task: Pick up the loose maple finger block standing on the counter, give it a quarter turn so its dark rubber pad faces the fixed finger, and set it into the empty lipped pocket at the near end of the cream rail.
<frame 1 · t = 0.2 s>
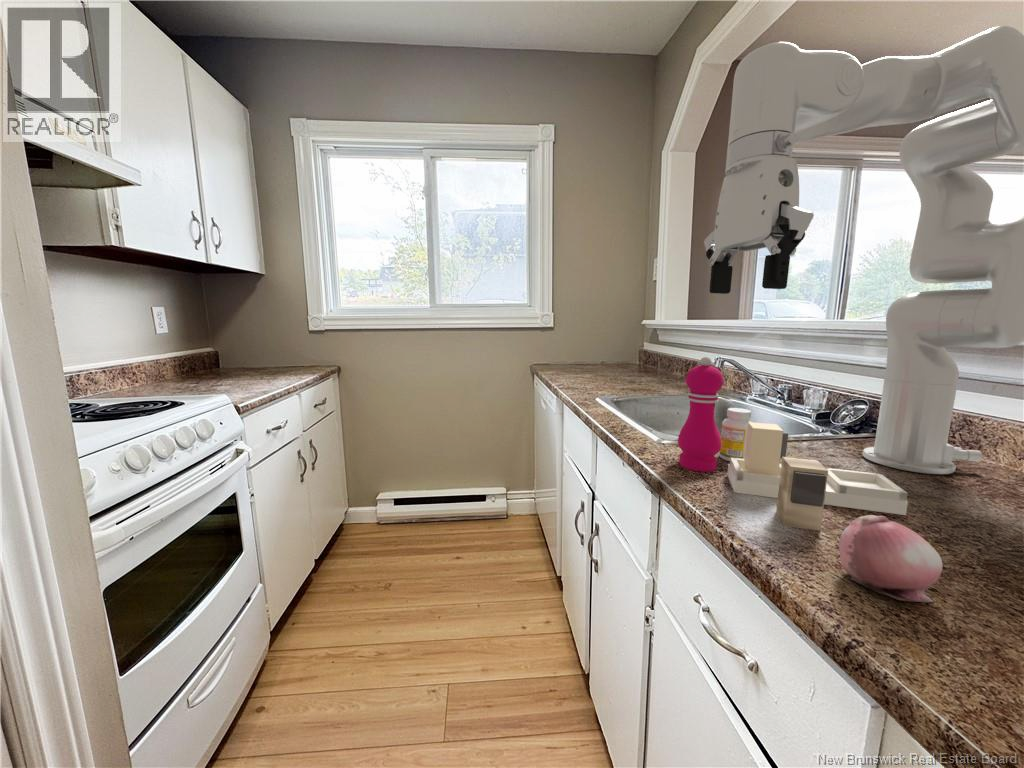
hand: (744, 291, 57), 30 cm above the countertop, tool pointing down, fingers open, 9 cm apart
pepper mill: (697, 466, 75), on the countertop
pink shallot: (881, 588, 41), on the countertop
supplement bottle: (734, 459, 79), on the countertop
rail: (806, 493, 64), on the countertop
finger block: (797, 520, 55), on the countertop
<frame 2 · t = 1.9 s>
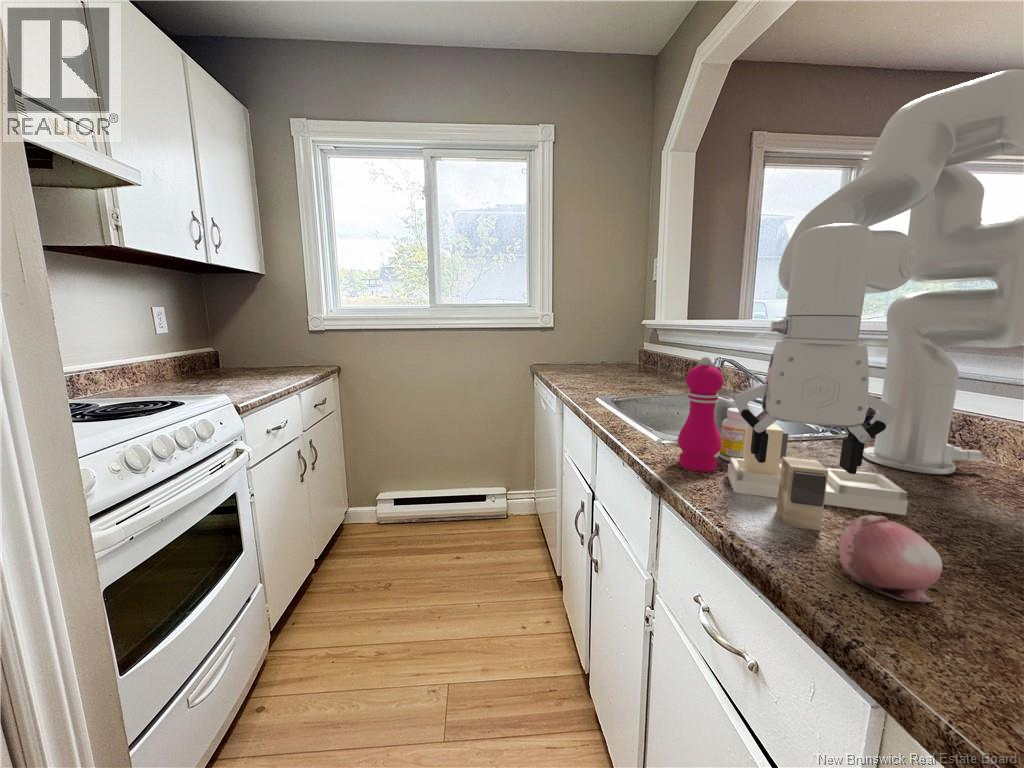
hand: (802, 465, 53), 8 cm above the countertop, tool pointing down, fingers open, 9 cm apart
nothing on the countertop moved.
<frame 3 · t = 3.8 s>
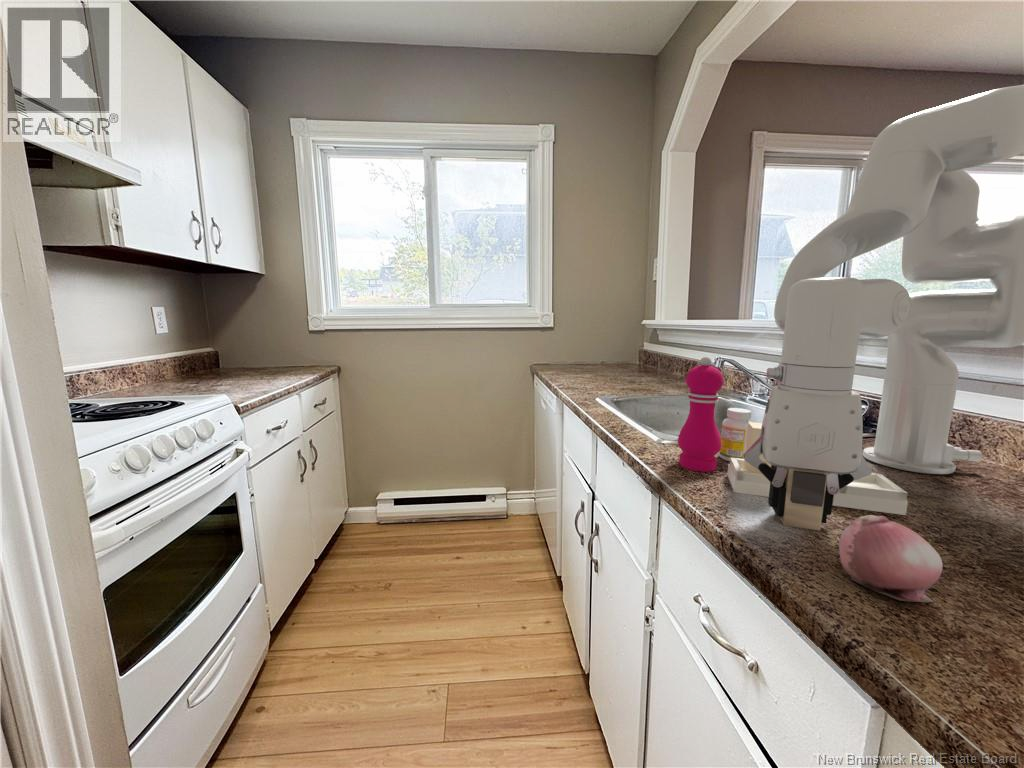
hand: (797, 514, 55), 1 cm above the countertop, tool pointing down, fingers closed on finger block, 4 cm apart
finger block: (797, 520, 55), on the countertop, touching gripper
everything else where it was.
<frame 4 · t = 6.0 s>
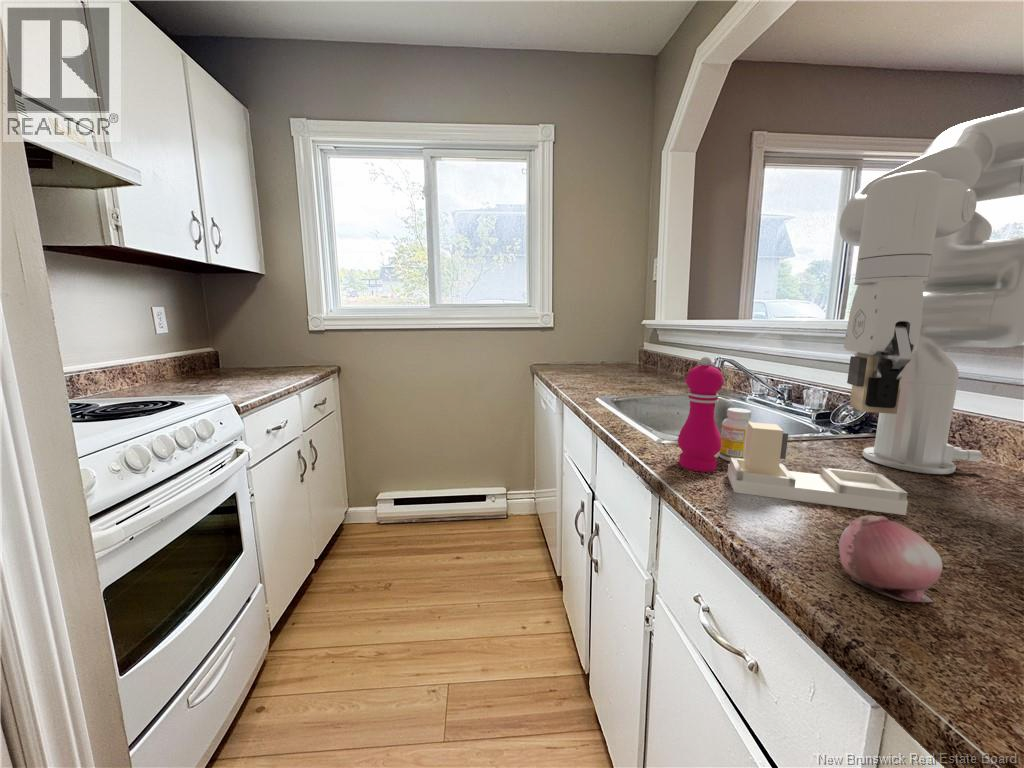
hand: (872, 402, 59), 15 cm above the countertop, tool pointing down, fingers closed on finger block, 4 cm apart
finger block: (872, 409, 59), point 14 cm above the countertop, touching gripper
everything else where it was.
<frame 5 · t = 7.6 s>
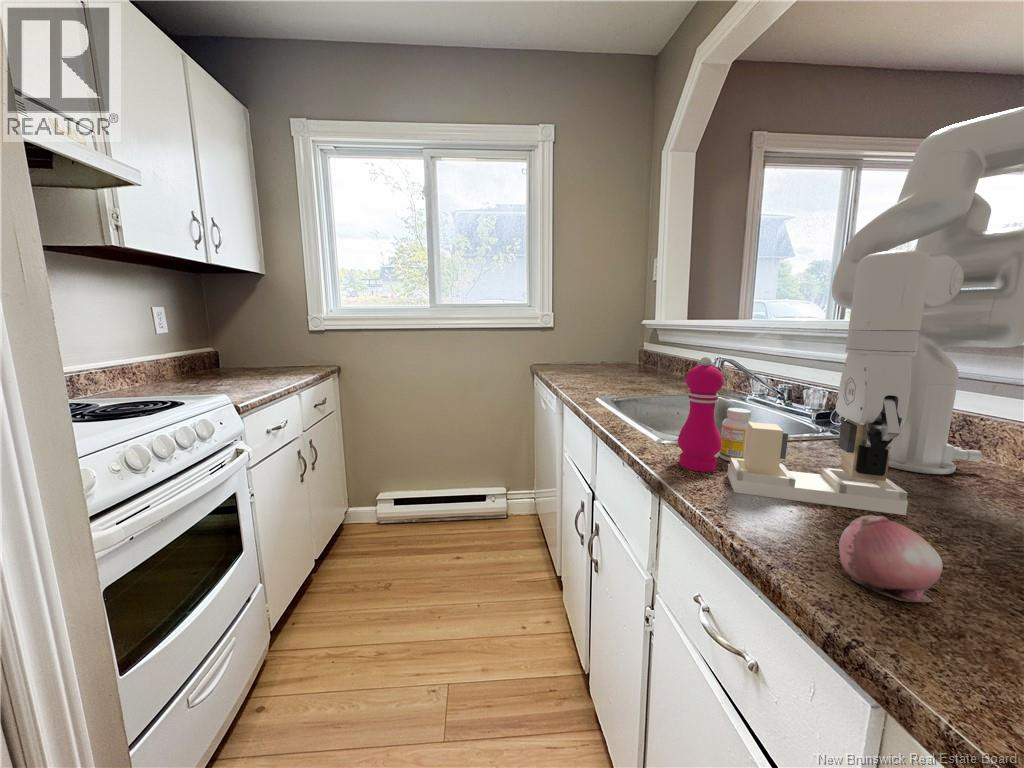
hand: (862, 467, 60), 5 cm above the countertop, tool pointing down, fingers closed on finger block, 4 cm apart
finger block: (862, 474, 61), point 4 cm above the countertop, touching gripper
everything else where it was.
when the fingers open (4 cm above the countertop, at t = 8.6 s): finger block stays where it is, resting on rail.
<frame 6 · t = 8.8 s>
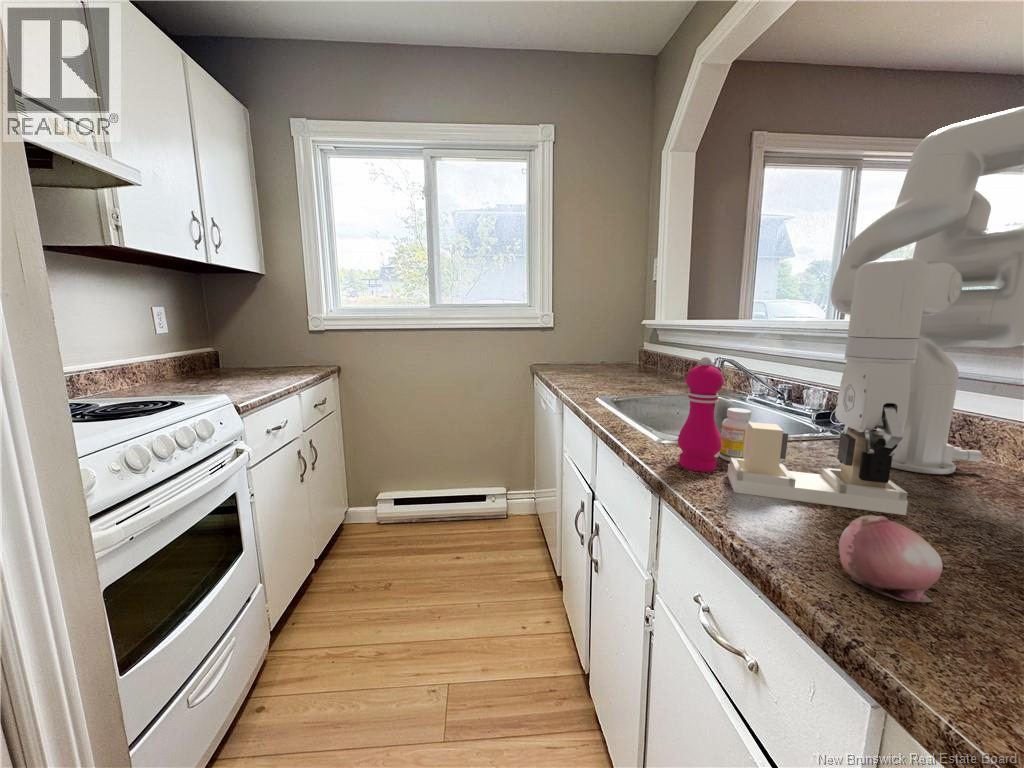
hand: (862, 471, 61), 4 cm above the countertop, tool pointing down, fingers open, 6 cm apart
finger block: (860, 486, 61), point 2 cm above the countertop, touching rail
everything else where it was.
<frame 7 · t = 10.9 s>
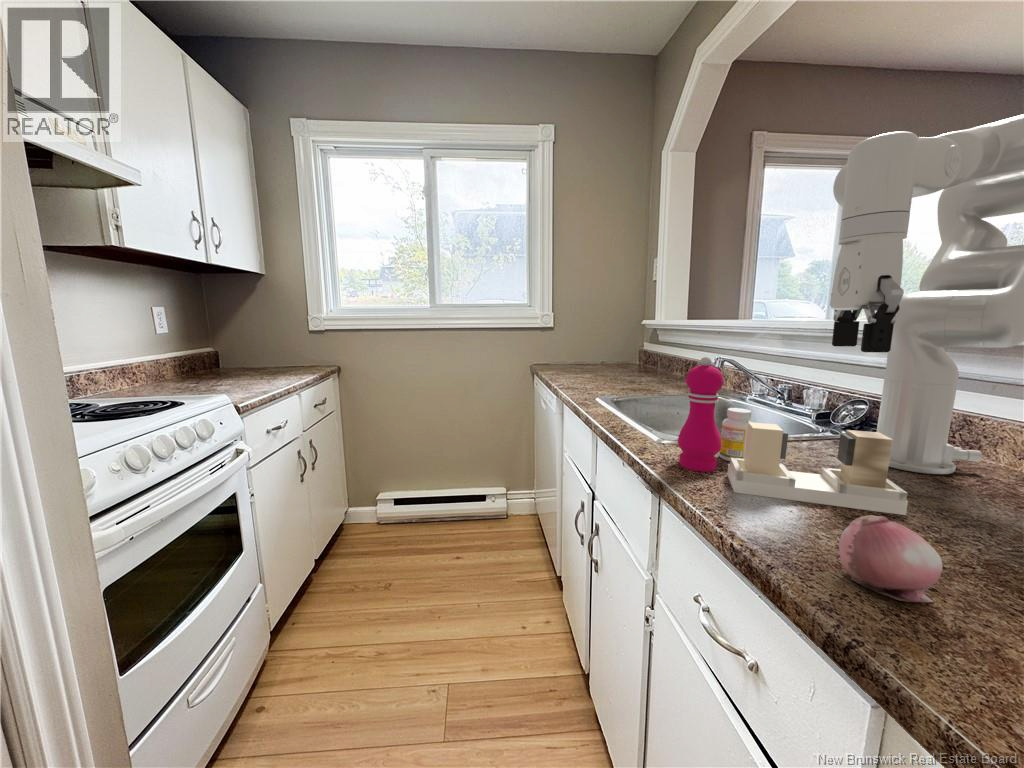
hand: (858, 348, 63), 22 cm above the countertop, tool pointing down, fingers open, 9 cm apart
nothing on the countertop moved.
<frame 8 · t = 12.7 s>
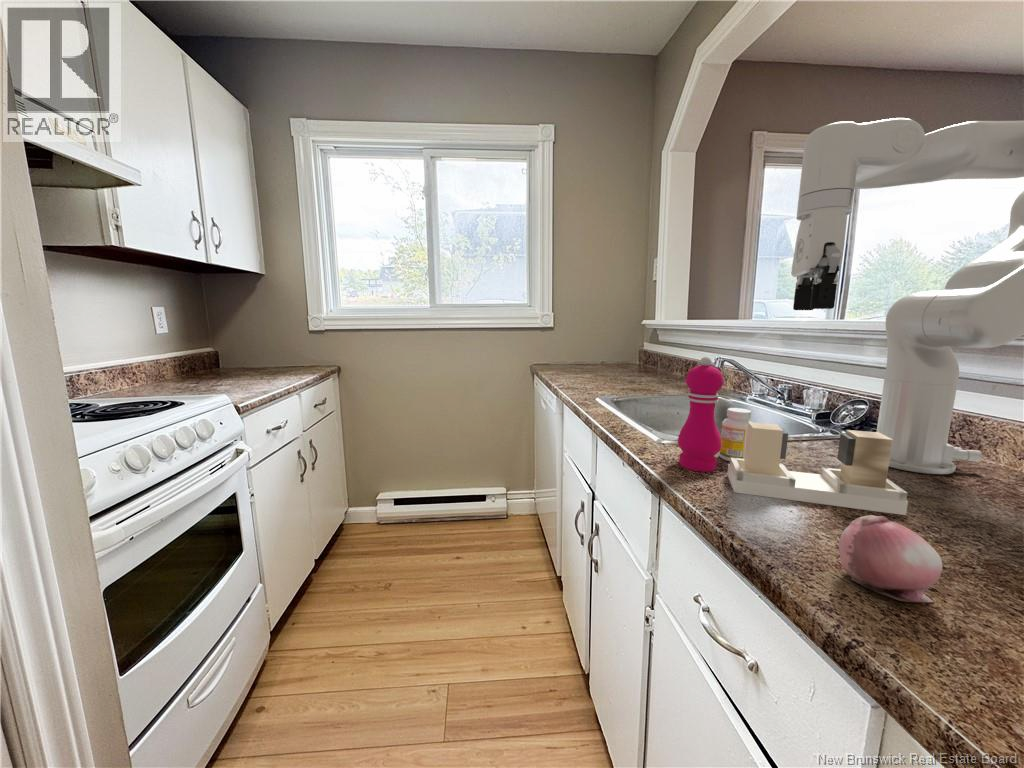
hand: (811, 309, 72), 28 cm above the countertop, tool pointing down, fingers open, 9 cm apart
nothing on the countertop moved.
at the end: finger block 0.2 cm from the target spot on the rail, point 2.0 cm above the rail's base; finger block tilted 0°; the gripper is holding nothing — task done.
